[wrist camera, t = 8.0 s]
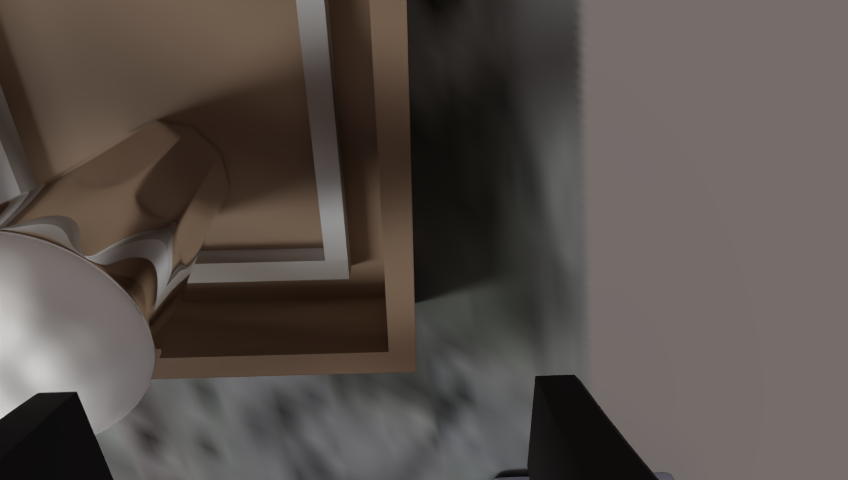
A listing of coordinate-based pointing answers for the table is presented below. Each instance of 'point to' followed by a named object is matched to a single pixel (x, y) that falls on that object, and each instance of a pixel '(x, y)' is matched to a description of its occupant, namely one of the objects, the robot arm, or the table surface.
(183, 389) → the table surface
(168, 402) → the table surface
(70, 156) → the socket box
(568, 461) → the robot arm
